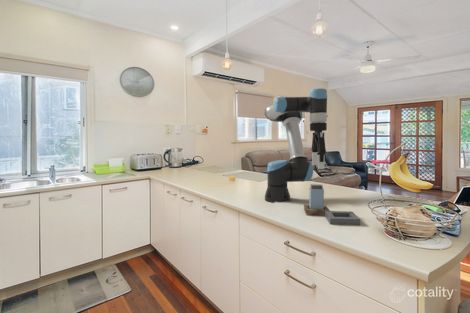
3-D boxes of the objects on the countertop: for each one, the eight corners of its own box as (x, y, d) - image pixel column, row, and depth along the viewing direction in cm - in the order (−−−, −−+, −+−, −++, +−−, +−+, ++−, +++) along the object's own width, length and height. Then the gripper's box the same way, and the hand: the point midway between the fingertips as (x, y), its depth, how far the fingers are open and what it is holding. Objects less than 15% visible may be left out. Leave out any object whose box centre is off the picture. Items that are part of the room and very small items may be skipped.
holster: (306, 216, 115) (306, 210, 115) (304, 210, 123) (304, 204, 123) (329, 216, 114) (329, 210, 113) (325, 211, 122) (325, 205, 122)
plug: (310, 213, 117) (310, 185, 116) (309, 211, 121) (309, 184, 120) (323, 214, 116) (323, 186, 115) (321, 211, 120) (322, 184, 119)
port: (330, 225, 103) (330, 217, 103) (325, 217, 113) (325, 210, 113) (360, 226, 101) (360, 218, 101) (352, 217, 111) (352, 210, 111)
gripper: (333, 120, 102) (333, 170, 104) (320, 123, 127) (320, 163, 129) (315, 121, 103) (315, 170, 105) (305, 123, 128) (305, 163, 130)
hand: (317, 167), depth 117 cm, fingers open, 13 cm apart
